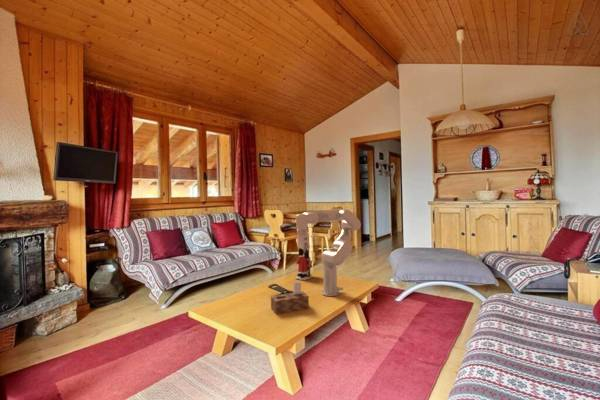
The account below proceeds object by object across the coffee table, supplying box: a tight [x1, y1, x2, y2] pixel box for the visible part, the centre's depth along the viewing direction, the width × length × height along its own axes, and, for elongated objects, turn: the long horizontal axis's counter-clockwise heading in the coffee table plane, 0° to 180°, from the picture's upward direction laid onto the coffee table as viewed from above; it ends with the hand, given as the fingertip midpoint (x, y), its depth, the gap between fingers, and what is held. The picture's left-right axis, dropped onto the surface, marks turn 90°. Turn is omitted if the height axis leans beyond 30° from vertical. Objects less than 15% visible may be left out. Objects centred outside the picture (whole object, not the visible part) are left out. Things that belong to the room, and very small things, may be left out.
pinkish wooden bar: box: [292, 281, 302, 296], centre depth 195 cm, size 4×2×12 cm, turn 111°
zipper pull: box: [267, 283, 294, 295], centre depth 216 cm, size 9×7×25 cm
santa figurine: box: [295, 250, 313, 281], centre depth 262 cm, size 17×14×25 cm
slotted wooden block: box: [270, 290, 310, 315], centre depth 194 cm, size 22×10×8 cm, turn 111°
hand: (303, 256), depth 207 cm, fingers open, 9 cm apart
